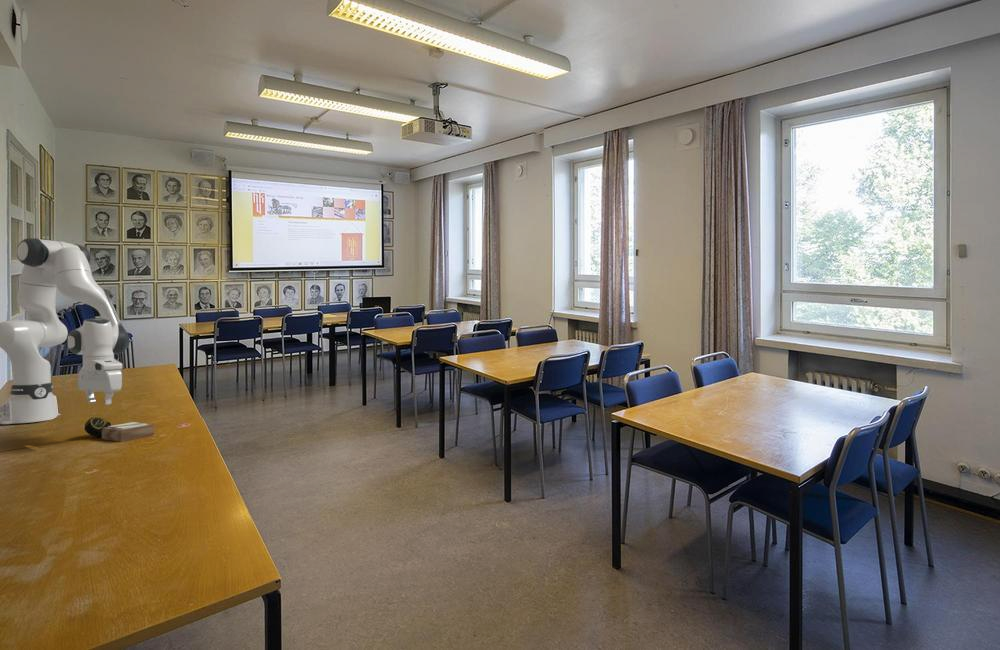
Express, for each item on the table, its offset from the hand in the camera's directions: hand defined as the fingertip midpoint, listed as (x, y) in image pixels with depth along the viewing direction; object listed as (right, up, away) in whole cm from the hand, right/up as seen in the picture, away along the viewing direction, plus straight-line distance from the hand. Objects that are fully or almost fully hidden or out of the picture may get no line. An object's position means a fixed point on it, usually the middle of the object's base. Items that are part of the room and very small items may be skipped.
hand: (99, 403), depth 187 cm
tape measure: (0, -12, 0) cm, 12 cm away
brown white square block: (+11, -12, -1) cm, 16 cm away
